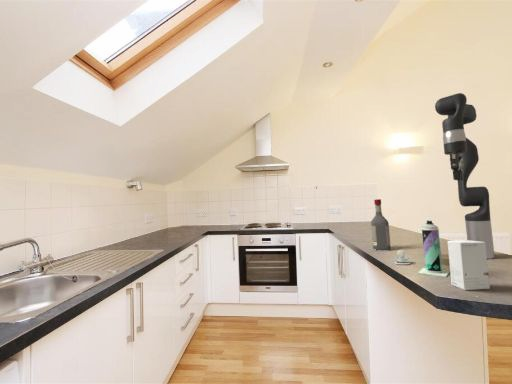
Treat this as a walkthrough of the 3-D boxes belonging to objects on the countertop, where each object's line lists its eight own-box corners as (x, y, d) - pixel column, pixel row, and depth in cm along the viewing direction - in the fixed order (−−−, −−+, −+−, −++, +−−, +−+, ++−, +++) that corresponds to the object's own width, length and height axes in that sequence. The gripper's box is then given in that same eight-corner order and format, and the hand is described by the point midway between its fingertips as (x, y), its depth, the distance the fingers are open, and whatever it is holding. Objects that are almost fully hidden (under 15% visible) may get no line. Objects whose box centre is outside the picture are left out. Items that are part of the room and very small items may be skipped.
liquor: (389, 248, 155) (385, 199, 156) (391, 250, 146) (386, 198, 148) (372, 247, 158) (368, 199, 160) (373, 250, 149) (369, 199, 151)
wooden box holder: (433, 264, 112) (432, 252, 113) (460, 266, 106) (459, 254, 106) (428, 268, 105) (427, 256, 106) (457, 272, 99) (456, 259, 99)
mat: (423, 268, 106) (423, 267, 106) (449, 271, 100) (449, 270, 100) (417, 273, 100) (417, 272, 100) (446, 277, 93) (446, 275, 93)
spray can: (426, 269, 104) (421, 220, 105) (443, 270, 100) (438, 220, 101) (425, 272, 100) (420, 221, 101) (442, 274, 96) (437, 221, 97)
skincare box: (464, 290, 79) (459, 242, 80) (450, 284, 85) (445, 240, 86) (491, 289, 79) (486, 241, 80) (475, 283, 85) (470, 238, 86)
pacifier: (412, 266, 112) (410, 262, 118) (411, 251, 112) (409, 249, 118) (393, 265, 115) (392, 262, 121) (392, 251, 115) (391, 248, 121)
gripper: (446, 146, 115) (450, 181, 114) (440, 141, 105) (444, 180, 104) (467, 142, 110) (471, 179, 109) (463, 137, 99) (468, 178, 99)
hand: (458, 180), depth 106 cm, fingers open, 8 cm apart
